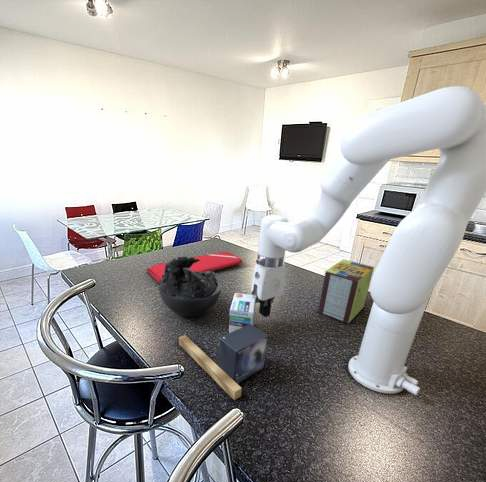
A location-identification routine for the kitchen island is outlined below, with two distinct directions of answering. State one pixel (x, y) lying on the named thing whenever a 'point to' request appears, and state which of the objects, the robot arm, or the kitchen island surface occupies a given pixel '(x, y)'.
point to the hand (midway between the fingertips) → (264, 314)
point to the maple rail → (211, 368)
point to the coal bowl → (188, 288)
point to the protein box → (345, 290)
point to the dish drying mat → (201, 264)
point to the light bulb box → (241, 311)
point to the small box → (242, 352)
